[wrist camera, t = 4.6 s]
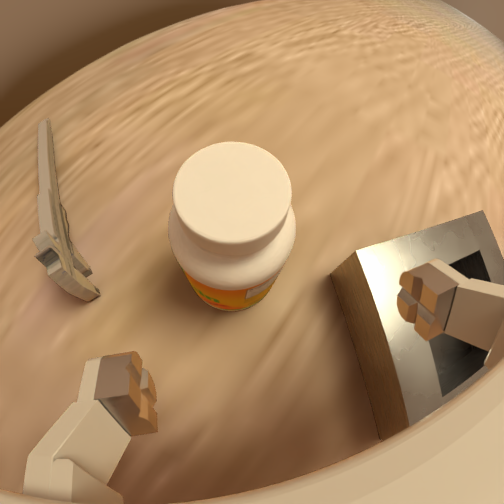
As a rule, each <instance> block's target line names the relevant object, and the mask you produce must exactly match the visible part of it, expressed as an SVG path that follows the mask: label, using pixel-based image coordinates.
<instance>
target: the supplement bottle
mask: <svg viewBox="0 0 504 504" xmlns="http://www.w3.org/2000/svg"><path fill="white" fill-rule="evenodd" d="M172 196H173V206H172V209H171V212H170V216H169V221H168V237H169V241H170V245H171V248H172V251H173V253H174V255H175V258H176V260H177V261H178V263H179V265H180V267H181V268H182V270H183V272H184V273H185V275H186V277H187V279H188V280H189V282H190V284H191V286H192V287H193V289H194V291H195V292H196V293H197V295H198V296H199V297H200V298H201V299H202V300H203V301H204V302H206V303H207V304H209V305H210V306H212V307H214V308H217V309H220V310H225V311H238V310H243V309H246V308H249V307H251V306H253V305H255V304H256V303H258V302H259V301H260V300H262V299H263V298H264V297H265V296H266V294H267V293H268V292H269V290H270V289H271V287H272V285H273V284H274V282H275V280H276V278H277V277H278V275H279V273H280V271H281V269H282V268H283V266H284V264H285V262H286V260H287V259H288V257H289V254H290V252H291V250H292V247H293V244H294V240H295V235H296V221H295V215H294V212H293V209H292V206H291V198H292V188H291V183H290V179H289V176H288V174H287V172H286V170H285V169H284V167H283V166H282V164H281V163H280V162H279V161H278V160H277V159H276V158H275V157H274V156H273V155H272V154H270V153H269V152H267V151H266V150H264V149H262V148H260V147H258V146H255V145H252V144H248V143H243V142H222V143H217V144H213V145H210V146H207V147H205V148H203V149H201V150H199V151H197V152H196V153H194V154H193V155H192V156H191V157H189V158H188V159H187V160H186V161H185V162H184V164H183V165H182V166H181V168H180V169H179V171H178V173H177V175H176V178H175V181H174V185H173V192H172Z"/></svg>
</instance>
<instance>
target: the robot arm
mask: <svg viewBox="0 0 504 504" xmlns="http://www.w3.org/2000/svg"><path fill="white" fill-rule="evenodd" d="M399 285H400V286H401V290H400V292H399V293H398V295H397V308H398V312H399V313H400V315H401V317H402V318H403V319H404V320H405V321H406V322H409V323H413V324H414V330H415V331H416V332H417V333H418V334H419V335H420V336H421V337H422V338H423V339H424V340H425V341H428V340H430V339H432V338H434V337H435V336H437V335H439V334H441V333H443V332H444V333H445V334H448V335H450V336H452V337H455V338H457V339H460V340H462V341H464V342H467V343H469V344H471V345H474V346H476V347H479V348H481V349H483V350H486V351H488V352H489V353H488V355H487V357H486V359H485V361H484V365H485V366H486V367H487V368H488V369H489V371H487V372H486V373H485V374H484V375H483V376H481V377H480V378H479V379H478V380H476V381H475V382H474V383H473V384H471V385H470V386H469V387H468V388H466V389H465V390H464V391H462V392H461V393H460V394H458V395H457V396H455V397H454V398H453V399H451V400H450V401H448V402H447V403H446V404H444V405H443V406H441V407H440V408H438V409H437V410H435V411H434V412H432V413H431V414H429V415H428V416H426V417H424V418H423V419H421V420H420V421H418V422H416V423H415V424H413V425H411V426H410V427H408V428H406V429H404V430H403V431H401V432H399V433H397V434H395V435H394V436H392V437H390V438H388V439H386V440H384V441H382V442H380V443H378V444H376V445H374V446H372V447H370V448H368V449H366V450H364V451H362V452H360V453H358V454H355V455H353V456H351V457H349V458H346V459H344V460H342V461H339V462H337V463H335V464H332V465H330V466H327V467H324V468H322V469H319V470H316V471H314V472H311V473H308V474H305V475H302V476H299V477H296V478H293V479H290V480H287V481H284V482H280V483H277V484H273V485H270V486H266V487H262V488H258V489H254V490H250V491H246V492H242V493H237V494H232V495H227V496H222V497H216V498H210V499H204V500H197V501H189V502H180V503H170V504H504V285H500V284H495V283H491V282H487V281H482V280H478V279H473V278H471V279H468V278H466V277H465V276H463V275H462V274H461V273H459V272H458V271H456V270H455V269H453V268H452V267H450V266H449V265H447V264H446V263H444V262H443V261H441V260H440V259H433V260H431V261H428V262H426V263H424V264H422V265H420V266H417V267H415V268H412V269H410V270H407V271H405V272H402V274H401V276H400V279H399ZM156 401H157V396H156V389H155V385H154V382H153V379H152V377H151V375H150V373H149V372H148V371H147V370H145V369H144V368H142V359H141V358H140V356H139V355H138V353H137V352H135V351H131V352H125V353H120V354H114V355H108V356H103V357H97V358H90V359H88V360H87V361H86V363H85V367H84V371H83V376H82V380H81V384H80V389H79V394H78V399H77V402H72V404H71V405H70V406H69V407H68V408H67V409H66V411H65V412H64V413H63V414H62V415H61V416H60V418H59V419H58V420H57V421H56V422H55V424H54V425H53V426H52V427H51V428H50V429H49V431H48V432H47V433H46V434H45V435H44V437H43V438H42V439H41V440H40V441H39V443H38V444H37V445H36V446H35V447H34V449H33V450H32V451H31V452H30V454H29V455H28V459H27V465H26V471H25V478H24V485H23V493H22V494H19V493H15V492H11V491H7V490H4V489H0V504H124V502H123V497H122V496H121V495H120V494H119V493H118V492H116V491H114V490H113V489H111V488H110V487H108V486H107V484H108V482H109V480H110V478H111V476H112V474H113V472H114V470H115V468H116V466H117V464H118V462H119V461H120V459H121V457H122V455H123V453H124V451H125V449H126V447H127V445H128V444H129V442H130V440H131V437H130V436H137V435H144V434H150V433H156V432H158V422H157V412H156V411H155V410H154V408H153V406H154V404H155V403H156Z"/></svg>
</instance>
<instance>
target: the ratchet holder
mask: <svg viewBox="0 0 504 504" xmlns="http://www.w3.org/2000/svg"><path fill="white" fill-rule="evenodd" d="M433 259H440V260H441V261H443V262H444V263H446V264H447V265H449V266H450V267H452V268H453V269H455V270H456V271H458V272H459V273H461V274H462V275H463V276H465V277H466V278H468V279H471V278H473V279H478V280H482V281H487V282H491V283H495V284H500V285H504V259H503V257H502V255H501V252H500V249H499V247H498V244H497V242H496V239H495V237H494V234H493V232H492V230H491V227H490V225H489V223H488V220H487V218H486V216H485V214H484V212H483V210H482V211H479V212H476V213H473V214H470V215H467V216H464V217H461V218H458V219H455V220H452V221H449V222H446V223H443V224H440V225H437V226H434V227H430V228H427V229H424V230H421V231H418V232H415V233H412V234H408V235H405V236H402V237H399V238H396V239H392V240H389V241H386V242H383V243H379V244H376V245H373V246H369V247H366V248H363V249H360V250H356V251H355V252H354V253H353V254H352V255H351V256H349V257H348V258H347V259H346V260H345V261H344V262H343V263H342V264H341V265H339V266H338V267H337V268H336V269H335V270H334V271H333V272H332V273H330V276H331V278H332V281H333V284H334V287H335V290H336V293H337V295H338V298H339V301H340V304H341V307H342V310H343V313H344V316H345V319H346V322H347V325H348V328H349V331H350V335H351V338H352V341H353V344H354V347H355V350H356V354H357V357H358V360H359V364H360V367H361V370H362V374H363V377H364V381H365V384H366V388H367V391H368V395H369V399H370V402H371V406H372V410H373V413H374V417H375V421H376V425H377V429H378V433H379V437H380V439H381V440H383V441H384V440H386V439H388V438H390V437H392V436H394V435H395V434H397V433H399V432H401V431H403V430H404V429H406V428H408V427H410V426H411V425H413V424H415V423H416V422H418V421H420V420H421V419H423V418H424V417H426V416H428V415H429V414H431V413H432V412H434V411H435V410H437V409H438V408H440V407H441V406H443V405H444V404H446V403H447V402H448V401H450V400H451V399H453V398H454V397H455V396H457V395H458V394H460V393H461V392H462V391H464V390H465V389H466V388H468V387H469V386H470V385H471V384H473V383H474V382H475V381H476V380H478V379H479V378H480V377H481V376H483V375H484V374H485V373H486V372H487V371H489V369H488V368H487V367H486V366H485V365H484V361H485V359H486V357H487V355H488V353H489V352H488V351H486V350H483V349H481V348H479V347H476V346H474V345H471V344H469V343H467V342H464V341H462V340H460V339H457V338H455V337H452V336H450V335H448V334H445V333H444V332H443V333H441V334H439V335H437V336H435V337H434V338H432V339H430V340H428V341H425V340H424V339H423V338H422V337H421V336H420V335H419V334H418V333H417V332H416V331H415V330H414V324H413V323H409V322H406V321H405V320H404V319H403V318H402V317H401V315H400V313H399V312H398V308H397V295H398V293H399V292H400V290H401V286H400V285H399V279H400V276H401V274H402V272H405V271H407V270H410V269H412V268H415V267H417V266H420V265H422V264H424V263H426V262H428V261H431V260H433Z"/></svg>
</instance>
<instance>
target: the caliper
mask: <svg viewBox="0 0 504 504" xmlns="http://www.w3.org/2000/svg"><path fill="white" fill-rule="evenodd" d="M38 175H39V192H40V194H38V195H37V203H38V215H39V226H40V234H39V235H37V236H36V237H35V238H33V242H34V243H35V245H36V246H37V248H38V249H39V251H40V252H38V253H37V254H36V255H35V256H34V257H36V258H37V259H38V260H39V261H40V262H41V263H42V264H43V265H44V266H46V268H47V272H48V276H49V277H50V278H51V279H52V280H54V281H55V282H56V283H57V284H58V285H59V286H60V287H62V288H63V289H64V290H65V291H66V292H68V293H69V294H71V295H74V296H76V297H78V298H80V299H82V300H85V301H87V302H89V301H90V300H92V299H94V298H95V297H97V296H99V295H100V291H99V289H98V288H96V287H95V286H94V285H93V284H92V283H91V282H90V281H89V280H88V279H87V278H86V277H88V276H89V275H91V274H93V273H92V271H91V268H90V266H89V265H88V264H87V263H86V261H85V260H84V259H83V257H82V256H81V255H80V253H79V252H78V251H77V249H76V248H75V247H74V245H73V244H72V242H71V241H70V239H69V235H68V233H69V224H68V221H67V215H66V211H65V209H64V208H63V206H62V205H61V204H60V198H59V192H58V185H57V178H56V170H55V161H54V151H53V137H52V131H51V126H50V119H49V118H48V119H45V120H43V121H42V122H40V123H39V124H38Z"/></svg>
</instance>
